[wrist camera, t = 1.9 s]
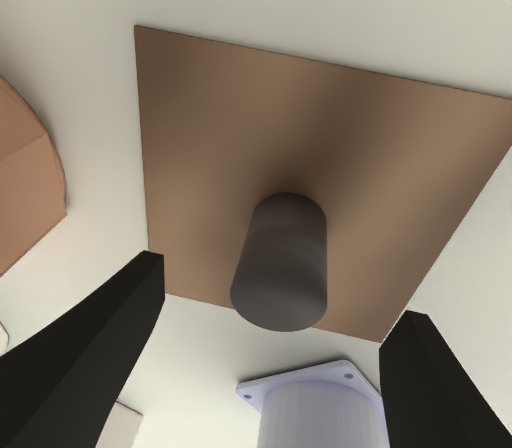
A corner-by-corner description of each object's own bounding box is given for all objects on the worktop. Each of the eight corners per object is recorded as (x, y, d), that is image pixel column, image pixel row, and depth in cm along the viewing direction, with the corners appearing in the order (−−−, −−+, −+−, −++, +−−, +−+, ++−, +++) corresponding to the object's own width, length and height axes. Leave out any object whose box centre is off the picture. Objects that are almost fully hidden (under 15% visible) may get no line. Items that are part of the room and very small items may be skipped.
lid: (524, 97, 10) (643, 169, 6) (378, 329, 18) (394, 428, 14) (145, 23, 11) (46, 49, 7) (157, 278, 18) (112, 360, 14)
